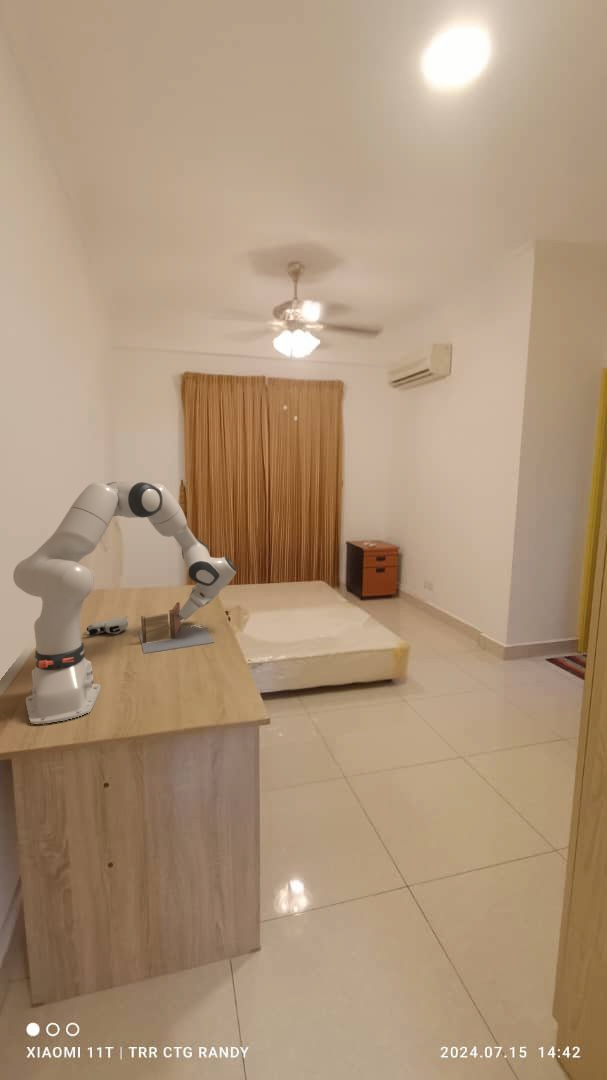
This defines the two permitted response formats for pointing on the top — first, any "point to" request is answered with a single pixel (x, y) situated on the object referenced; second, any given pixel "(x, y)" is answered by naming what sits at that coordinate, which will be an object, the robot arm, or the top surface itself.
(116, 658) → the top surface
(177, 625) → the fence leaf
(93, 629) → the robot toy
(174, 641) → the board
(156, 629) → the fence fixed
